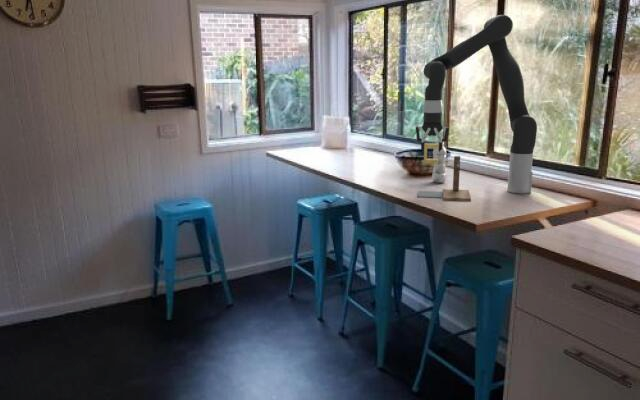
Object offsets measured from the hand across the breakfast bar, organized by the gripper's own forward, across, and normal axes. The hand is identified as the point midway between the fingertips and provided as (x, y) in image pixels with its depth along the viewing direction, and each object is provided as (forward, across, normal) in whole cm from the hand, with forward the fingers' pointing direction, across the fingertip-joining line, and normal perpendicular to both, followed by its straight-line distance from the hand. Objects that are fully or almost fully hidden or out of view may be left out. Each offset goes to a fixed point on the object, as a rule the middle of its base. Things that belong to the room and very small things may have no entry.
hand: (431, 151), depth 215 cm
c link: (+5, 0, 0) cm, 5 cm away
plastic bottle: (+19, -4, -25) cm, 32 cm away
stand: (+19, -11, +1) cm, 22 cm away
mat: (+19, 0, 0) cm, 19 cm away
